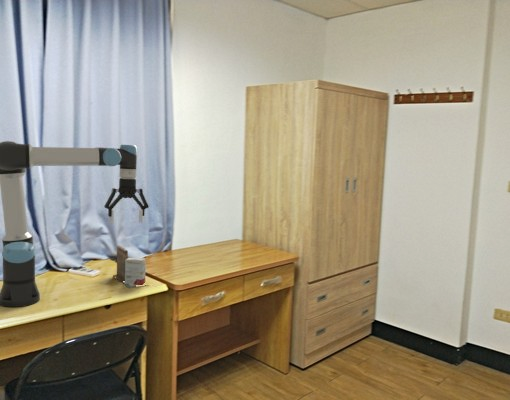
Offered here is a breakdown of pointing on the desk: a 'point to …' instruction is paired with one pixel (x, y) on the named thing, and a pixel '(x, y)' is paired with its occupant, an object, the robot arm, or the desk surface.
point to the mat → (130, 285)
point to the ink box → (135, 271)
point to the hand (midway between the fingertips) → (126, 223)
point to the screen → (121, 263)
